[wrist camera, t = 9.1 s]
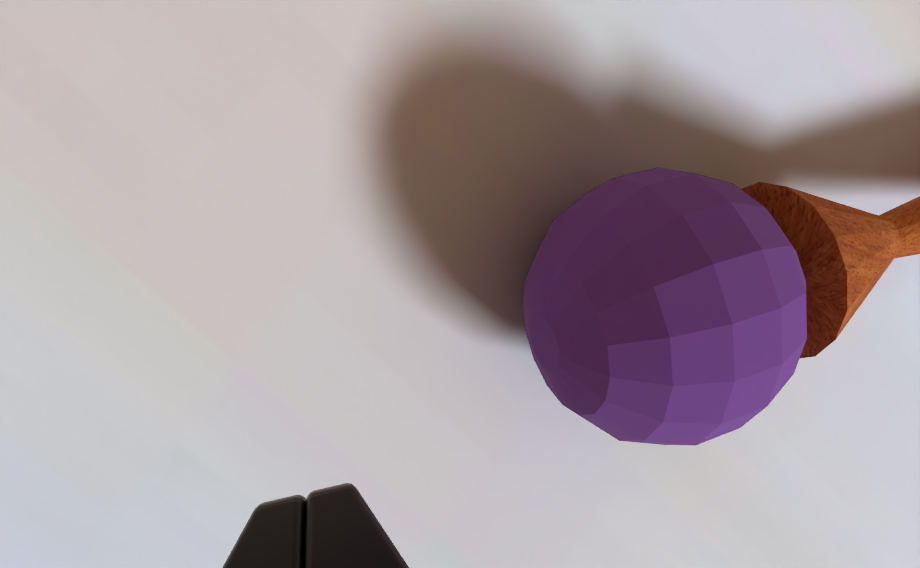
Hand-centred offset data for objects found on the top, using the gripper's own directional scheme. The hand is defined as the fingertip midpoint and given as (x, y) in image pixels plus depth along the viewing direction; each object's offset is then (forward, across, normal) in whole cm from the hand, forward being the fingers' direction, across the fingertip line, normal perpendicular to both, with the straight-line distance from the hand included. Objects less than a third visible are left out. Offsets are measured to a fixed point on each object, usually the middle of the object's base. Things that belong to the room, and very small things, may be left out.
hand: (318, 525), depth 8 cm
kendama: (+14, -13, +7) cm, 20 cm away
